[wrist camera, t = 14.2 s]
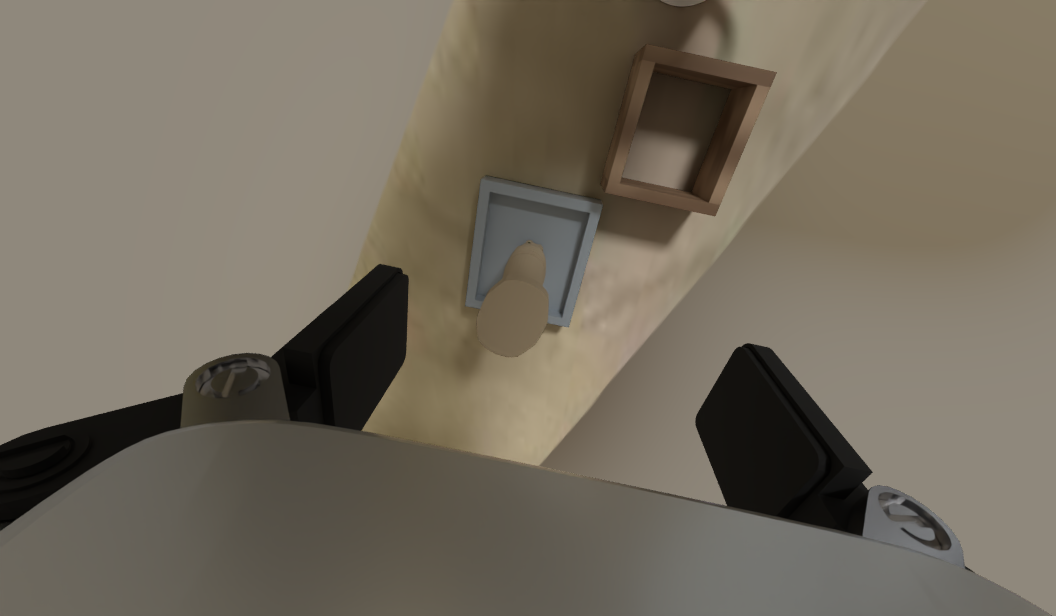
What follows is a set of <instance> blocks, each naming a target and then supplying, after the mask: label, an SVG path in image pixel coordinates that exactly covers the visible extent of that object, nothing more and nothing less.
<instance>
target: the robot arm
mask: <svg viewBox="0 0 1056 616" xmlns="http://www.w3.org/2000/svg"><path fill="white" fill-rule="evenodd" d="M408 284H409V279H408V276H407V275H405V274H403V272H402V269H401V268H397V267H392V266H387V265H383V264H379V265H377V266H376V267H375V268H374V269H373V270H372V271H370V272H369V273H368V274H367V275H366V276H365V277H364V278H362V279H361V280H360V281H359V282H358V283H357V284H355V285H354V286H353V287H352V288H351V289H350V290H349V291H347V292H346V293H345V294H344V295H343V296H342V297H341V298H339V299H338V300H337V301H336V302H335V303H334V304H332V305H331V306H330V307H328V308H327V309H326V310H325V311H324V312H323V313H321V314H320V315H319V316H318V317H317V318H316V319H315V320H313V321H312V322H311V323H310V324H309V325H307V326H306V327H305V328H304V329H303V330H302V331H301V332H299V333H298V334H297V335H296V336H295V337H294V338H292V339H291V340H290V341H289V342H288V343H287V344H285V345H284V346H283V347H282V348H281V349H280V350H279V351H277V352H276V353H275V354H274V355H273V356H272V357H269V356H266V355H262V354H256V353H242V354H232V355H229V356H225V357H221V358H218V359H215V360H213V361H210V362H208V363H206V364H204V365H203V366H201V367H199V368H198V369H196V370H195V371H194V372H193V373H192V374H191V375H190V376H189V377H188V378H187V379H186V382H185V385H184V389H183V393H182V394H178V395H174V396H170V397H166V398H163V399H158V400H154V401H150V402H146V403H143V404H138V405H135V406H130V407H126V408H122V409H119V410H115V411H111V412H107V413H103V414H99V415H95V416H91V417H87V418H83V419H79V420H75V421H71V422H67V423H64V424H59V425H55V426H51V427H47V428H44V429H41V430H38V431H34V432H31V433H28V434H25V435H22V436H20V437H18V438H16V439H13V440H11V441H9V442H7V443H4V444H2V445H0V616H1052V615H1050V614H1049V613H1047V612H1046V611H1044V610H1042V609H1041V608H1039V607H1038V606H1036V605H1034V604H1033V603H1031V602H1029V601H1028V600H1026V599H1024V598H1022V597H1021V596H1019V595H1017V594H1016V593H1014V592H1011V591H1010V590H1008V589H1006V588H1004V587H1002V586H1000V585H998V584H996V583H994V582H992V581H990V580H988V579H986V578H984V577H982V576H980V575H978V574H976V573H975V572H973V571H972V570H970V569H969V568H967V567H966V566H965V564H964V556H963V550H962V547H961V544H960V542H959V540H958V538H957V537H956V536H955V534H954V533H953V532H952V530H951V529H950V528H949V527H948V526H947V525H946V524H945V523H944V522H943V521H942V519H940V518H939V517H938V516H937V515H936V514H935V513H933V512H932V511H931V510H930V509H929V508H927V507H926V506H925V505H923V504H922V503H920V502H918V501H917V500H915V499H914V498H912V497H911V496H909V495H907V494H905V493H903V492H901V491H899V490H896V489H893V488H891V487H888V486H880V485H877V486H874V487H871V488H870V489H869V490H867V488H866V487H865V486H864V485H863V483H862V482H863V481H864V480H865V479H866V478H867V477H868V476H869V475H870V474H871V473H872V471H871V470H870V469H869V467H868V466H867V465H866V464H865V462H864V461H863V460H862V459H861V458H860V456H859V455H858V454H857V453H856V452H855V450H854V449H853V448H852V446H851V445H850V444H849V443H848V442H847V441H846V439H845V438H844V437H843V436H842V434H841V433H840V432H839V431H838V429H837V428H836V427H835V426H834V425H833V423H832V422H831V421H830V420H829V419H828V417H827V416H826V415H825V414H824V412H823V411H822V410H821V409H820V408H819V406H818V405H817V404H816V403H815V401H814V400H813V399H812V398H811V397H810V395H809V394H808V393H807V392H806V391H805V389H804V388H803V387H802V386H801V384H800V383H799V382H798V381H797V380H796V378H795V377H794V376H793V375H792V373H790V371H789V370H788V369H787V367H786V366H785V365H784V364H783V363H782V361H781V360H780V359H779V358H778V356H777V355H776V354H775V353H774V352H773V350H771V349H770V348H768V347H763V346H759V345H754V344H749V343H747V344H744V345H743V346H742V347H738V348H736V349H735V351H734V352H733V354H732V356H731V357H730V359H729V361H728V362H727V364H726V366H725V367H724V369H723V371H722V373H721V374H720V376H719V378H718V379H717V381H716V383H715V384H714V386H713V388H712V390H711V391H710V393H709V395H708V397H707V398H706V400H705V402H704V403H703V405H702V407H701V408H700V410H699V412H698V414H697V416H696V428H697V430H698V433H699V435H700V438H701V441H702V442H703V446H704V448H705V451H706V453H707V456H708V458H709V461H710V463H711V466H712V468H713V471H714V474H715V476H716V478H717V481H718V484H719V486H720V488H721V491H722V494H723V496H724V499H725V501H726V504H727V506H724V505H720V504H715V503H711V502H706V501H701V500H697V499H692V498H687V497H683V496H678V495H673V494H669V493H664V492H659V491H654V490H650V489H645V488H640V487H636V486H631V485H626V484H621V483H616V482H611V481H607V480H602V479H597V478H593V477H587V476H583V475H577V474H573V473H568V472H564V471H559V470H554V469H549V468H545V467H540V466H535V465H530V464H525V463H520V462H515V461H510V460H506V459H501V458H496V457H491V456H486V455H481V454H476V453H471V452H466V451H461V450H456V449H451V448H447V447H442V446H437V445H432V444H427V443H422V442H417V441H412V440H407V439H402V438H397V437H391V436H386V435H381V434H376V433H371V432H365V431H361V430H362V429H363V427H364V425H365V424H366V422H367V421H368V419H369V417H370V416H371V414H372V413H373V411H374V409H375V408H376V406H377V405H378V403H379V401H380V400H381V398H382V397H383V395H384V393H385V392H386V390H387V389H388V387H389V386H390V384H391V382H392V381H393V379H394V378H395V376H396V374H397V373H398V371H399V370H400V368H401V366H402V365H403V363H404V360H405V356H406V343H407V313H408Z"/></svg>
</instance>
